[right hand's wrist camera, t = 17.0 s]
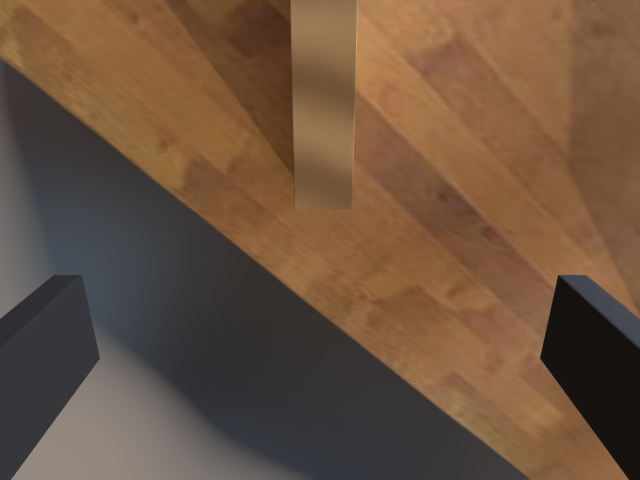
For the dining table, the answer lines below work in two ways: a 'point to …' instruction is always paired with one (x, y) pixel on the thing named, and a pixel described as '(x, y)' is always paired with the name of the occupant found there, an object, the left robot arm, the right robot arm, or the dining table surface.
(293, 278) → the dining table surface
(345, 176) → the beam
